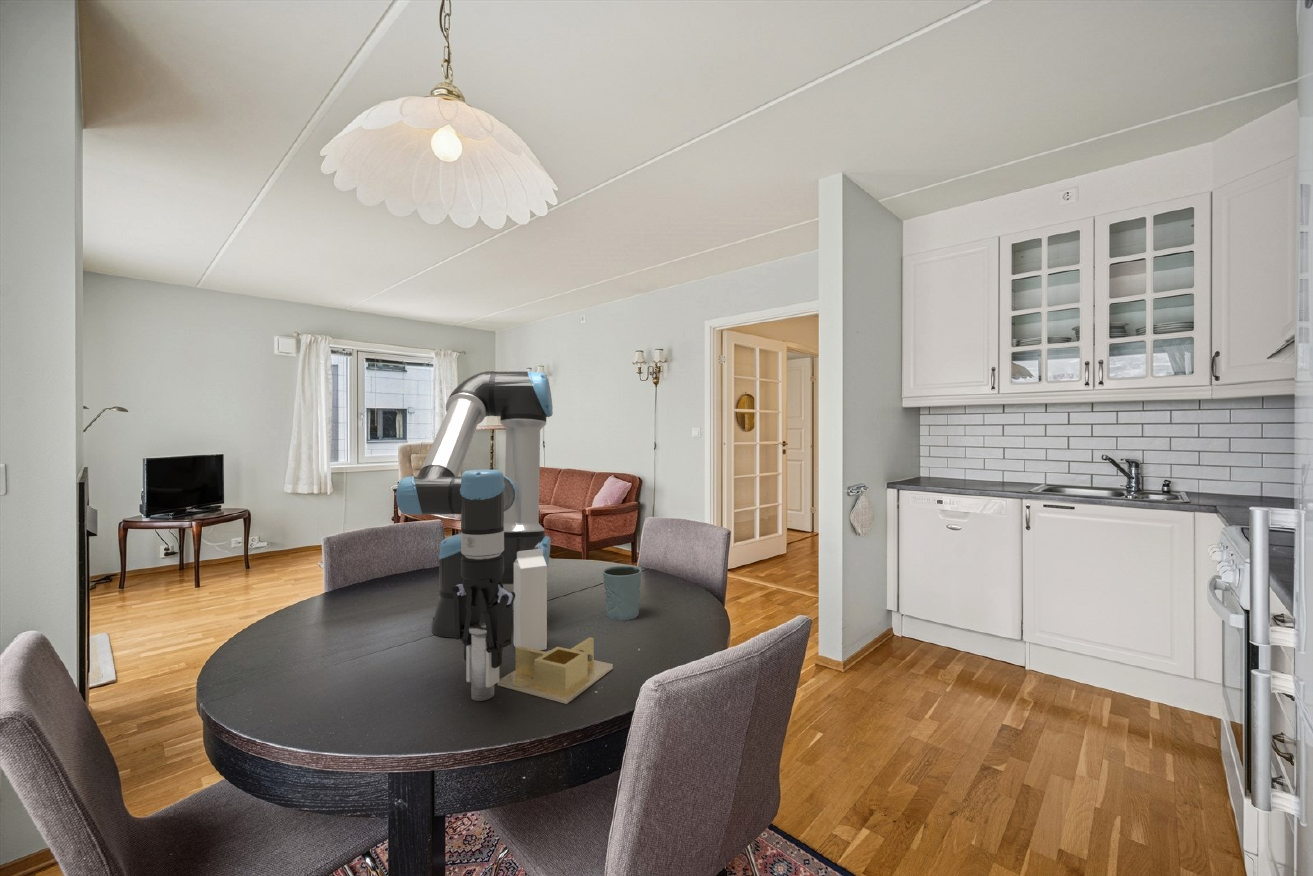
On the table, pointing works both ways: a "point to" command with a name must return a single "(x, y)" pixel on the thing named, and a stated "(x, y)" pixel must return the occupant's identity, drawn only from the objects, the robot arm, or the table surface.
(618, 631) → the table surface
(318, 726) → the table surface
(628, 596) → the teal cup
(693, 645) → the table surface
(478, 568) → the robot arm
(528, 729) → the table surface
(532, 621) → the milk
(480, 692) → the pin
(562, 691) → the open box on plate
